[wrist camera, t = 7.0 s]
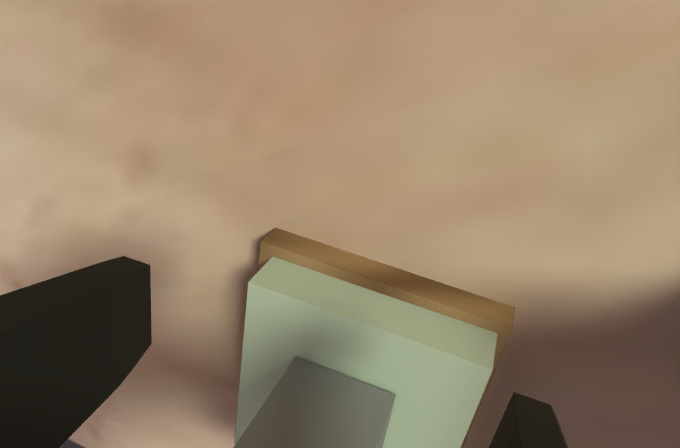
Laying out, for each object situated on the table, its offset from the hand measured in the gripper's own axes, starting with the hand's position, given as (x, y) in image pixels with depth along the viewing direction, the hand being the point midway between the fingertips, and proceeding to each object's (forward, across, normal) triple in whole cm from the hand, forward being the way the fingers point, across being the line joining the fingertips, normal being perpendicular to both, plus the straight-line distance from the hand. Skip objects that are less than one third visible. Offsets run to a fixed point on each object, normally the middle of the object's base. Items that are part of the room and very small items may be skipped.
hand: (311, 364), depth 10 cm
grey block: (+7, 0, +9) cm, 11 cm away
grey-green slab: (+9, 0, +9) cm, 13 cm away
